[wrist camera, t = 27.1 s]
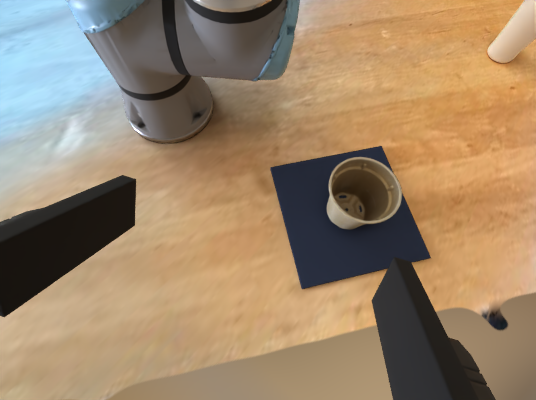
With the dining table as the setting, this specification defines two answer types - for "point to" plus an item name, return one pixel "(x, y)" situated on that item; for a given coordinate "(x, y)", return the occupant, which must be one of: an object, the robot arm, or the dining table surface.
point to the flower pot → (362, 193)
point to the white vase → (515, 34)
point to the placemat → (333, 237)
